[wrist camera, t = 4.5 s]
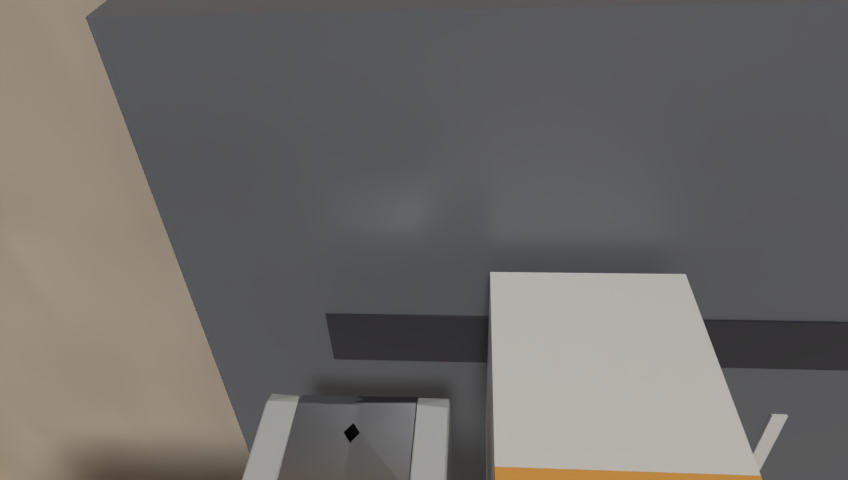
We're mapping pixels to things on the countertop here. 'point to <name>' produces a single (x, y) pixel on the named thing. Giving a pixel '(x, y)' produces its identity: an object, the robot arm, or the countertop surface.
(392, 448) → the robot arm
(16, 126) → the countertop surface
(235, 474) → the countertop surface
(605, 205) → the console
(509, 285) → the fader
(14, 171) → the countertop surface
